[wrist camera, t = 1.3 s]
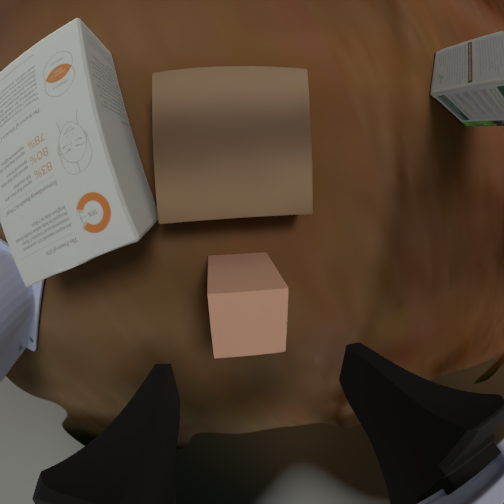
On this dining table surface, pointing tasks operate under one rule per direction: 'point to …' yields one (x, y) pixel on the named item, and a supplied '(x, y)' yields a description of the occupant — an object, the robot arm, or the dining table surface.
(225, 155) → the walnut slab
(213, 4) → the dining table surface
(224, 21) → the dining table surface
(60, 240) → the small box
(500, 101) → the syrup box
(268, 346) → the terracotta block
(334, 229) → the dining table surface
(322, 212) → the dining table surface
